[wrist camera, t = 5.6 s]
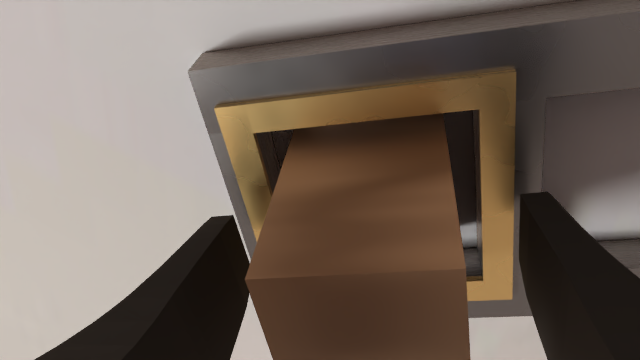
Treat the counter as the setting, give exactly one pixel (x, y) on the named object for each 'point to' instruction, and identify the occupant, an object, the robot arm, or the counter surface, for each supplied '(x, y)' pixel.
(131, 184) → the counter surface
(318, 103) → the grey slotted tray
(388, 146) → the brown wooden block
